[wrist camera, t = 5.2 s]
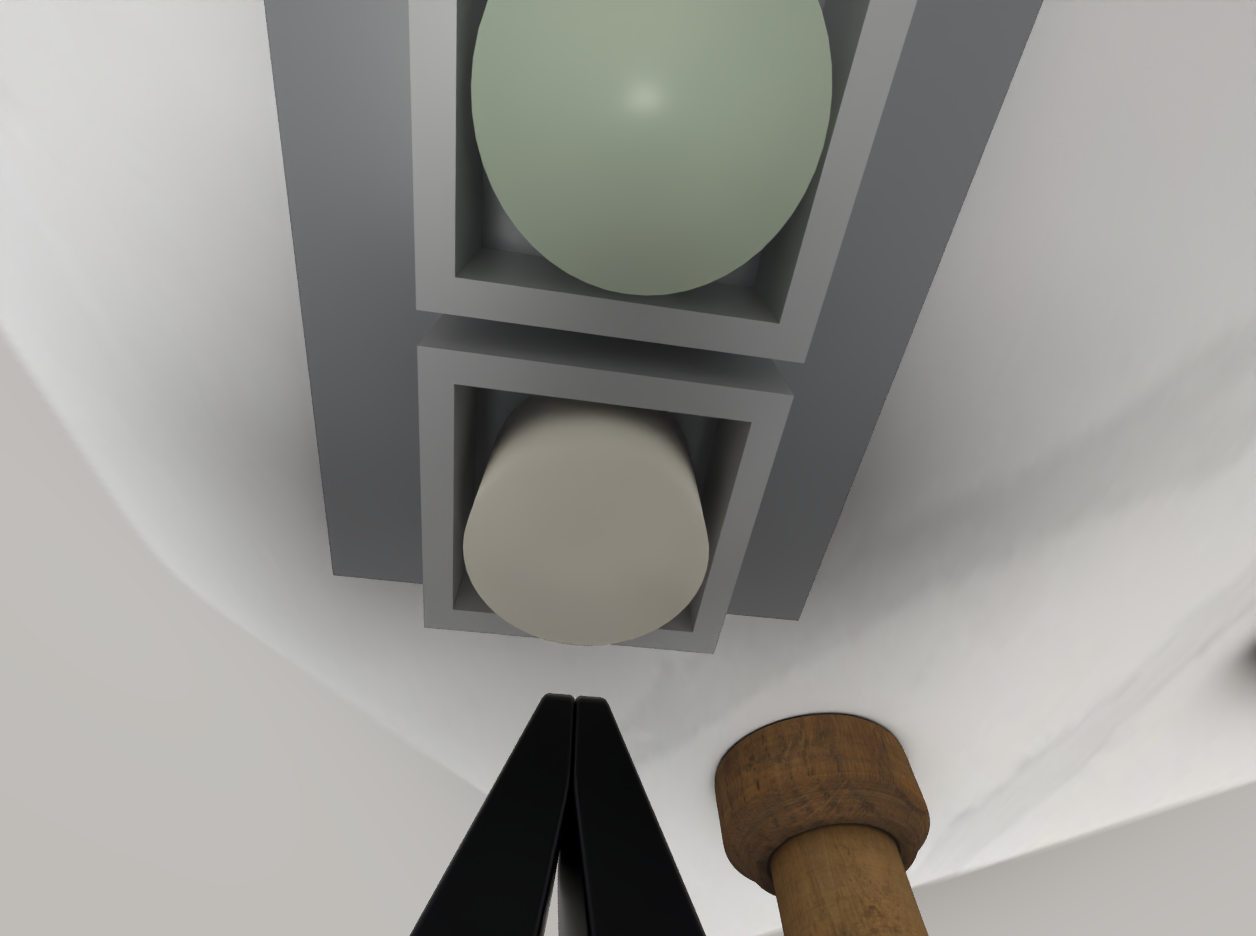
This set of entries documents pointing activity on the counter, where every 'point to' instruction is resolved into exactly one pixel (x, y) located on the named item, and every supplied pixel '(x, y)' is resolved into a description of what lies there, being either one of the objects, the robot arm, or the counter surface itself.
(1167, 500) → the counter surface
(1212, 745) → the counter surface
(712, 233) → the button sage
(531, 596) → the button cream
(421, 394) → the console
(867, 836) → the mortar and pestle
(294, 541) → the counter surface
